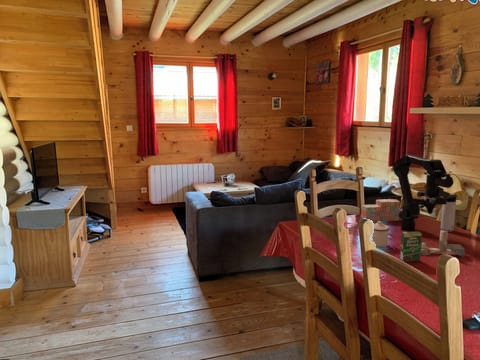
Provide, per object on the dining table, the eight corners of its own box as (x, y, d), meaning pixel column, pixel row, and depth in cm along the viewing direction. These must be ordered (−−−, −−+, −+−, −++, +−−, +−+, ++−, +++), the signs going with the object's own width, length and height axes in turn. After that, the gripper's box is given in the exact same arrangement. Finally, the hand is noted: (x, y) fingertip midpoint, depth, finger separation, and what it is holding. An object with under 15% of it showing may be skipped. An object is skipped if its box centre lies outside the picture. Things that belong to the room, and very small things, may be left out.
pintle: (415, 254, 169) (416, 244, 168) (415, 249, 175) (416, 239, 174) (431, 256, 166) (431, 246, 165) (430, 251, 172) (431, 241, 171)
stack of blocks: (365, 222, 219) (366, 202, 216) (361, 219, 225) (361, 200, 222) (399, 220, 221) (400, 201, 219) (393, 217, 227) (395, 198, 225)
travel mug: (455, 232, 198) (459, 196, 195) (442, 231, 199) (445, 196, 196) (451, 228, 204) (455, 194, 201) (438, 228, 206) (442, 193, 202)
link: (418, 252, 169) (420, 231, 167) (416, 249, 173) (418, 228, 171) (457, 256, 164) (459, 234, 162) (454, 252, 169) (456, 230, 167)
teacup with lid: (388, 242, 185) (389, 220, 182) (387, 248, 176) (389, 225, 174) (363, 239, 189) (364, 217, 187) (362, 245, 181) (363, 222, 179)
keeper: (450, 257, 165) (451, 248, 164) (446, 252, 171) (447, 243, 170) (463, 258, 163) (464, 249, 163) (459, 253, 169) (460, 244, 169)
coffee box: (401, 261, 160) (404, 233, 158) (399, 259, 163) (401, 231, 161) (420, 261, 160) (422, 233, 158) (417, 259, 163) (419, 231, 161)
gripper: (458, 187, 176) (455, 218, 179) (438, 180, 194) (436, 209, 197) (435, 188, 176) (433, 219, 179) (417, 181, 194) (415, 209, 197)
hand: (429, 213), depth 188 cm, fingers closed
